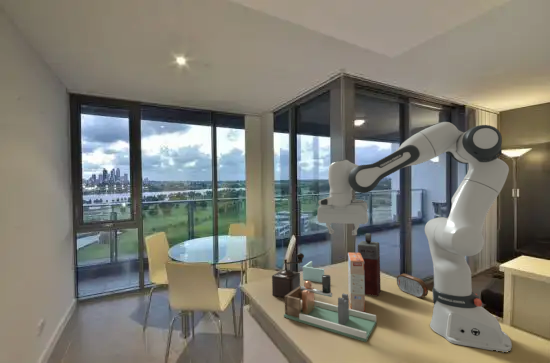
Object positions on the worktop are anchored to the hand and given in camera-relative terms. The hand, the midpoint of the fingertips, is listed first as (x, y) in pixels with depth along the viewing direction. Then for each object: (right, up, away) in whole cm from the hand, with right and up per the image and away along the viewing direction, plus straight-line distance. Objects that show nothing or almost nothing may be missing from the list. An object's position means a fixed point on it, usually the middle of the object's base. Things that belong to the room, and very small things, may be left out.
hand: (342, 234), depth 108 cm
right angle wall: (-4, -33, +42) cm, 54 cm away
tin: (+37, -32, +17) cm, 51 cm away
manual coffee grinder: (-20, -33, +23) cm, 45 cm away
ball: (-17, -29, +2) cm, 34 cm away
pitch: (-7, -32, -5) cm, 33 cm away
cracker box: (+8, -32, +8) cm, 34 cm away
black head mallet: (-11, -31, -2) cm, 33 cm away
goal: (-17, -31, +2) cm, 36 cm away
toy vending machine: (+17, -32, +22) cm, 43 cm away
